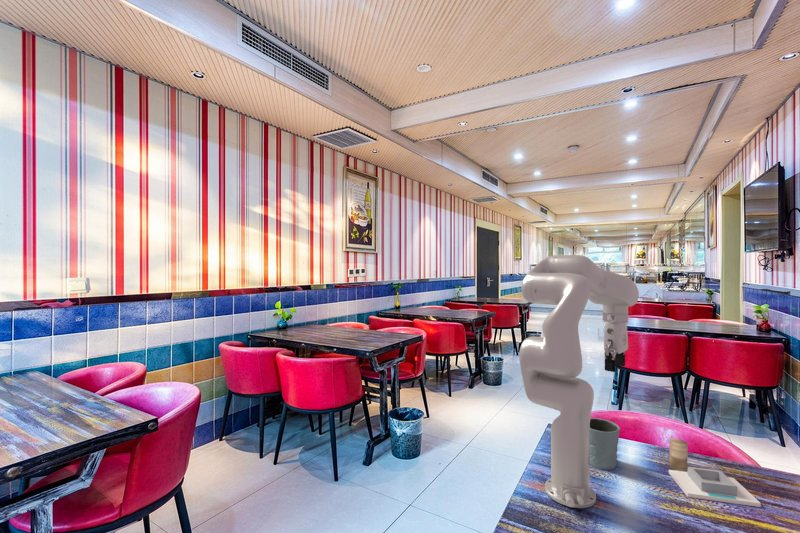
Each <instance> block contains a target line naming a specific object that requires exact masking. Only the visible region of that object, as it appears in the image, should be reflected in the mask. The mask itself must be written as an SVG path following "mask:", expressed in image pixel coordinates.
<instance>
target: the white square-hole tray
mask: <svg viewBox="0 0 800 533" xmlns="http://www.w3.org/2000/svg"><path fill="white" fill-rule="evenodd" d="M668 474H669V476H670V477H671V478H672V479H673V480H674V482H675V483H676V484H677V486H679V488H680V490H681V491H683V493H684V494H685V495H686V497H687V498H692V499H699V500H707V501H715V502H723V503H727V504H735V505H741V506H742V505H743V506H749V507H757V508H762V503H761V502H760V501H759V500H758V499H757V498H755V496H754V495H753V494H752V493H750V492H749V491H748V490H747V489H746V488H745V487H744V486H743V485H742V484H741V483H739V482H740V481H737V479H735V478H734V477H733V476H732V477H731V476H727V475H726V474H725V472H723V471H722V470H717V469H710V468H703V467H694V466H687V472H684V471H676V470H674V469H668Z"/></svg>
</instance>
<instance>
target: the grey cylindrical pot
mask: <svg viewBox="0 0 800 533" xmlns="http://www.w3.org/2000/svg"><path fill="white" fill-rule="evenodd" d="M619 437H620V426H619V425H618V424H617V423H615V422H614V421H611V420H608V419H603V418H598V417H591V418H590V466H592V467H593V468H596V469H600V470H605V471H606V470H607V471H608V470H614V469H616V467H617V461H618V454H617V453H618V445H619V440H620V439H619Z"/></svg>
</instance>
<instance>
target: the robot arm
mask: <svg viewBox="0 0 800 533" xmlns="http://www.w3.org/2000/svg"><path fill="white" fill-rule="evenodd" d="M520 289H521V294H522V296H523V298H524V300H525V301H527V302H529V303H530V304H531V303H532V304H536V305H537V304H538V305H551V306H555V307H554V308H553V310H552V311H551V312H549V313H548V315H547V316H545V318H544V320H543V322H542V326H541V329H542V330H541V331H542V335H543V336H542V337H541V336H528V337H527V338H525V339H524V340H522V343H521V345H520V347H519V353H518V360H519V367H520V372H521V376H522V381H523V388H524V392H525V395H526V397H527V399H528V400H529V401H530V402H531V403H532V404H533V403H534V404H535V405H539V406H542V407H545V408H549V409H553V410H556V411H558V412H559V413H560V414H559V415H558V416H557V417H556V418H555V419H553V421H552V423H551V426H550V478H548V479H547V480H545V483H544V491H545V493H546V494H547V495H548V497H549V498H550V499H552V500H553V501H555V502H557V503H558V504H561V505H563V506H566V507H569V508H575V509H586V508H590V507H592V506H594V505H595V504H596V502H597V495H596V492H595V490H594V489H593V488H592V487H591V484H590V483H591V482H590V481H591V479H590V478H591V477H590V476H591V475H590V474H591V473H590V472H591V471H590V470H591V469H590V466H591V465H590V418H592V417H591V416H592V409H593V405H594V399H595V398H594V396H595V393H594V389H593V387H592V385H591V383H589V382H587V381H586V380H584V379H582V378H580V377H579V375H581V373H582V371H583V355H582V349H581V348H582V347H581V342H580V335H579V325H580V320H581V318H582V315H583V313H584V310H585V308H586V306H587V303H588V301H590V302H591V303H593V304H596V305H602V322H603V323H604V328H603V329H604V330H603V331H604V332H603V350H604V357H603V358H604V370H605V371H606V372H611V373H616V371H617V369H616V367H617V366H619V367H626V351H627V350H629V339H628V325H627V324H629V307H633V306H635V305H636V304H637V302H638V301H639V296H640V292H639V288H638V287H637V284H636V283H635V282H634V281H633V280H632V279H631V278H630V277H628V276H625V275H623V274H619V273H615V272H612V271H609V270H605V269H602V268H600V267H599V266H598V265H597V264H596V263H595V262H594V261H593V260H591V259H590V258H589V257H587V256H585V255H580V254H562V255H561V254H560V255H559V254H558V255H556V254H553V255H549V256H546V257H544V258H542V260H540V261H539V262H538V263H536V265H535V266H534V267H533V268H531V269H530V270H529V271H528V272H527V273H526V275H524V278H523V279H522V282H521V286H520Z"/></svg>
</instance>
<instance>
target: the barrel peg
mask: <svg viewBox="0 0 800 533" xmlns="http://www.w3.org/2000/svg"><path fill="white" fill-rule="evenodd" d="M688 448H689V447H688V442H687V441H686V440H682V439H680V438H670V439H669V467H670V468H671V470H676V471H684V472H688V459H689V458H688V450H689V449H688Z"/></svg>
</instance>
